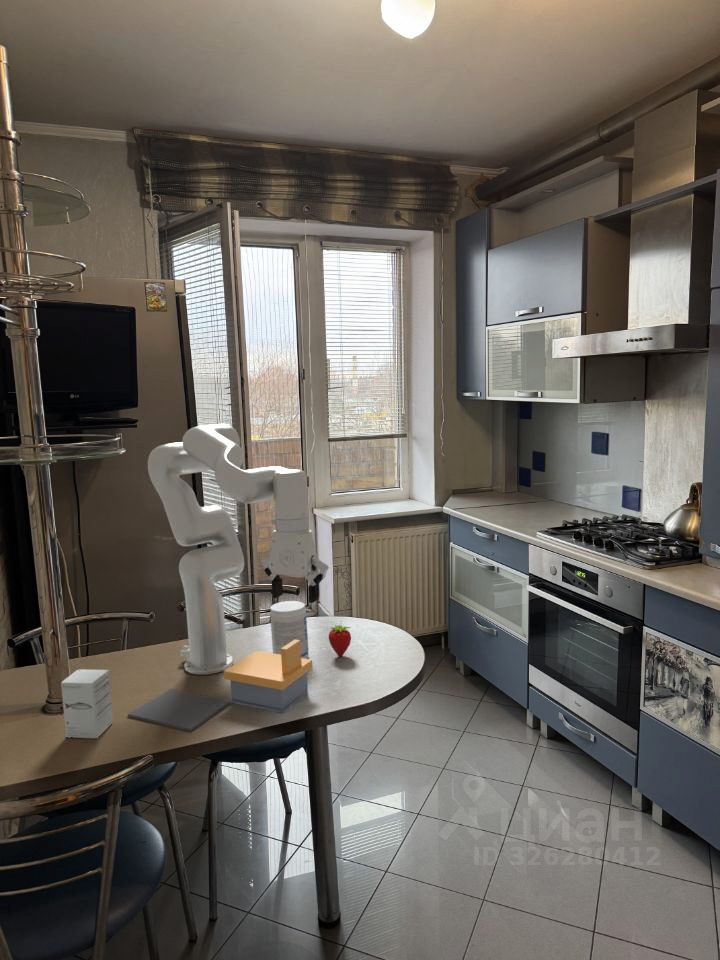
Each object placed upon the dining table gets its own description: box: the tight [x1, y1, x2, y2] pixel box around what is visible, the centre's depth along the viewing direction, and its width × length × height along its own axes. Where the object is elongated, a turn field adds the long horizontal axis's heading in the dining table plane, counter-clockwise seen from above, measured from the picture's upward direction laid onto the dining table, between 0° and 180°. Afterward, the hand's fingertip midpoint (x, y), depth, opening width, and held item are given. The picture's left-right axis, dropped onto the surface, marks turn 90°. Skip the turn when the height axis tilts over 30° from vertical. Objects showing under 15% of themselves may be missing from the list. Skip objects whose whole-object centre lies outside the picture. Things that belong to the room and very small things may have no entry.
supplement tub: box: [269, 600, 310, 659], centre depth 182 cm, size 10×10×15 cm
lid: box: [223, 639, 313, 690], centre depth 159 cm, size 16×13×8 cm
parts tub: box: [229, 671, 309, 714], centre depth 160 cm, size 14×11×7 cm
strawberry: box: [328, 620, 352, 658], centre depth 183 cm, size 6×8×10 cm
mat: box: [127, 688, 232, 732], centre depth 156 cm, size 18×14×1 cm
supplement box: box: [60, 669, 114, 740], centre depth 147 cm, size 7×7×13 cm
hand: (295, 598), depth 154 cm, fingers open, 9 cm apart
